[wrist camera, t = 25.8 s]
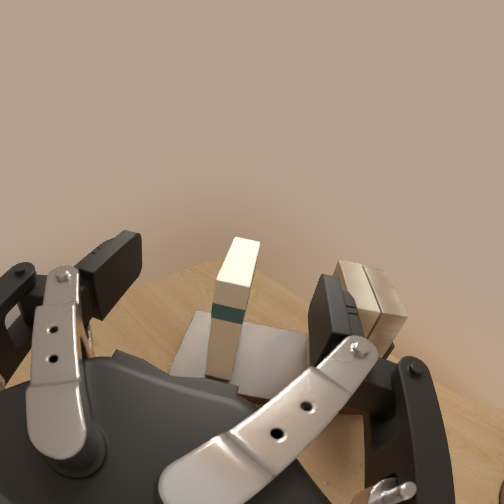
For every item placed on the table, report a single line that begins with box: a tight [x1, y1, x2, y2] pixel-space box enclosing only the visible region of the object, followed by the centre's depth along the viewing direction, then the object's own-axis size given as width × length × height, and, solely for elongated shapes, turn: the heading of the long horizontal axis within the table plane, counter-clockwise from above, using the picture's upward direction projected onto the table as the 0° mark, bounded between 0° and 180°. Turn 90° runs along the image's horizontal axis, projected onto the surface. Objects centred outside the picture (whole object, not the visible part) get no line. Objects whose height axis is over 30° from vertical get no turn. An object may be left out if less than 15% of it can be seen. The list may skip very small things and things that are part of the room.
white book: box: [205, 237, 260, 380], centre depth 26 cm, size 3×8×12 cm, turn 173°
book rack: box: [168, 259, 407, 414], centre depth 27 cm, size 22×11×13 cm, turn 83°
